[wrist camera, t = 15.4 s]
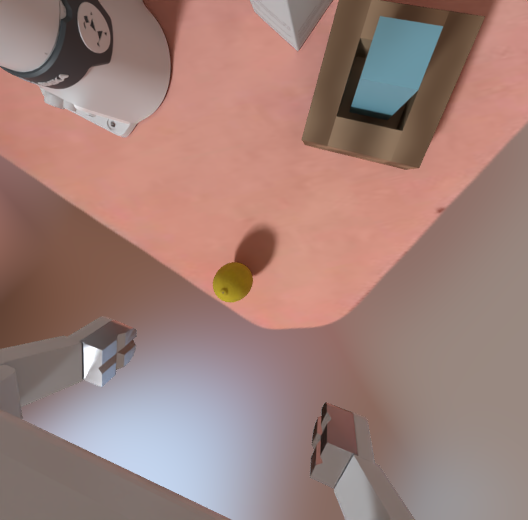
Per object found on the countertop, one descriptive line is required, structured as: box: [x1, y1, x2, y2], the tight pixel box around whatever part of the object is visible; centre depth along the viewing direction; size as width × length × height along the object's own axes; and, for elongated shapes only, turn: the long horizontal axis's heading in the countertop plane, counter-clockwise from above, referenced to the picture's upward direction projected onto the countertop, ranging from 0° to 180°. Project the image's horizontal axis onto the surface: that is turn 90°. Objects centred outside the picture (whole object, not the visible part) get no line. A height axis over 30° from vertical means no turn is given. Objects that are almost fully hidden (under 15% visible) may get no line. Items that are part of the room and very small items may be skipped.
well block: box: [302, 0, 485, 169], centre depth 28 cm, size 13×13×5 cm
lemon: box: [213, 262, 253, 302], centre depth 38 cm, size 6×6×8 cm
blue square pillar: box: [349, 16, 443, 120], centre depth 24 cm, size 4×4×11 cm
